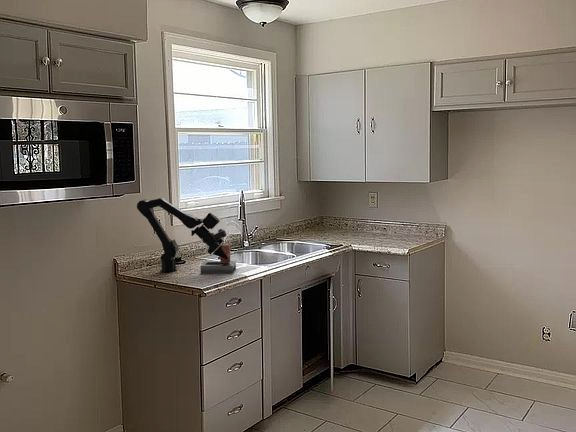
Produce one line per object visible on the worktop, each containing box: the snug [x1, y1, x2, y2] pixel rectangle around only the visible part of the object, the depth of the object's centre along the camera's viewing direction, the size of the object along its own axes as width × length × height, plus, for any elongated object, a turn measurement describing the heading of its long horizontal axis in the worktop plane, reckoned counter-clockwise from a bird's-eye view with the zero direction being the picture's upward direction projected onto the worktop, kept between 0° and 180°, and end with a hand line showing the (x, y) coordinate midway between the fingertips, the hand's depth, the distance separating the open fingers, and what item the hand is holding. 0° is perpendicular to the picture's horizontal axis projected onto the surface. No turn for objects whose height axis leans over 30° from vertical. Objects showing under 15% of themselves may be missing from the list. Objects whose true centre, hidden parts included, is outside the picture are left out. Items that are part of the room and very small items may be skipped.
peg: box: [219, 243, 231, 264], centre depth 305 cm, size 5×5×13 cm
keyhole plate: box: [199, 260, 237, 275], centre depth 305 cm, size 16×13×4 cm
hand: (228, 257), depth 305 cm, fingers closed on peg, 5 cm apart
